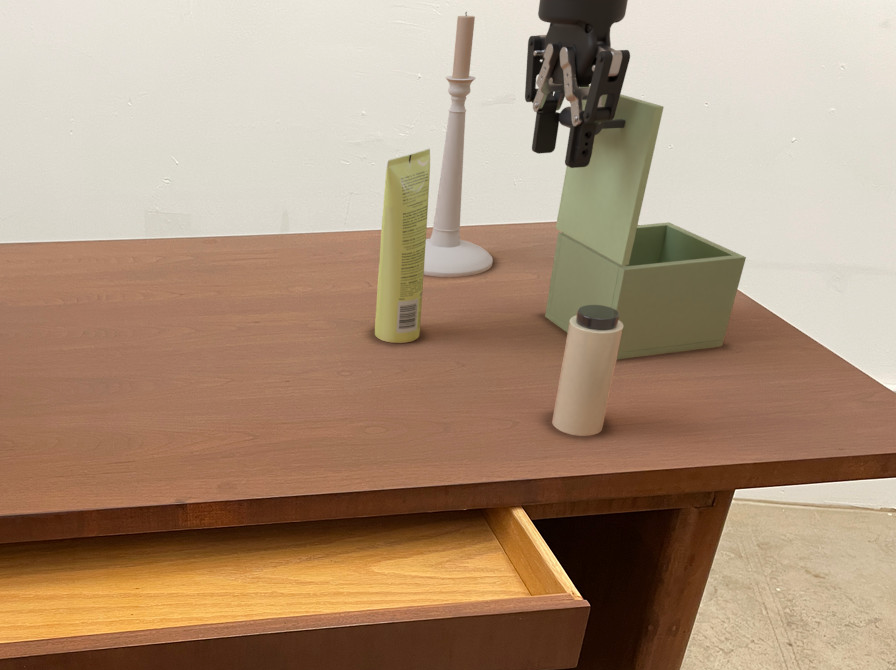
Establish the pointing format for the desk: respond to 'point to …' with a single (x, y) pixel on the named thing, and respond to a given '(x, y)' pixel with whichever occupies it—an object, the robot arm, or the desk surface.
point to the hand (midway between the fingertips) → (559, 158)
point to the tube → (403, 248)
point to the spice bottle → (587, 370)
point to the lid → (611, 179)
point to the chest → (651, 289)
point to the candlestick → (455, 176)
